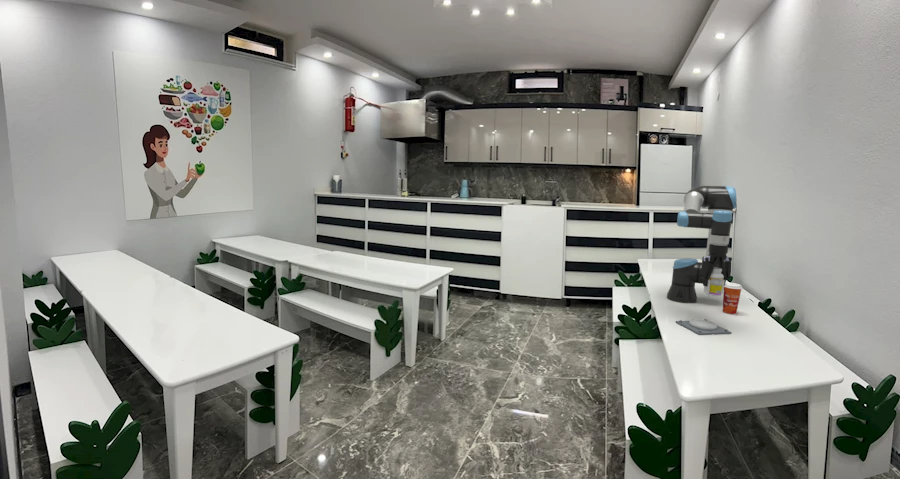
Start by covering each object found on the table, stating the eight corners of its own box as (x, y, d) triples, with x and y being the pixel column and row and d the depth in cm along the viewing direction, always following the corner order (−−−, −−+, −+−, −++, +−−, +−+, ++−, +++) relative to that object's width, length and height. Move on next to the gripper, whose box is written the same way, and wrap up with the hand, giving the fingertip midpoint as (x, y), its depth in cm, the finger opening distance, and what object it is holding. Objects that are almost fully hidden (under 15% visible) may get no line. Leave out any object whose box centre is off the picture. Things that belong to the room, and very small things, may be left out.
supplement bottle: (705, 292, 210) (708, 266, 208) (721, 294, 206) (724, 268, 204) (704, 295, 204) (707, 268, 202) (720, 297, 200) (724, 270, 199)
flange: (675, 322, 210) (676, 318, 210) (705, 321, 212) (706, 317, 212) (698, 335, 194) (699, 330, 194) (731, 333, 197) (731, 328, 196)
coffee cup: (721, 313, 225) (725, 285, 223) (718, 308, 233) (722, 281, 230) (740, 315, 222) (744, 287, 220) (737, 311, 230) (740, 283, 227)
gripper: (705, 245, 196) (700, 295, 200) (744, 245, 199) (738, 294, 203) (694, 242, 204) (688, 291, 207) (731, 243, 207) (725, 290, 210)
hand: (713, 292), depth 205 cm, fingers closed on supplement bottle, 7 cm apart
